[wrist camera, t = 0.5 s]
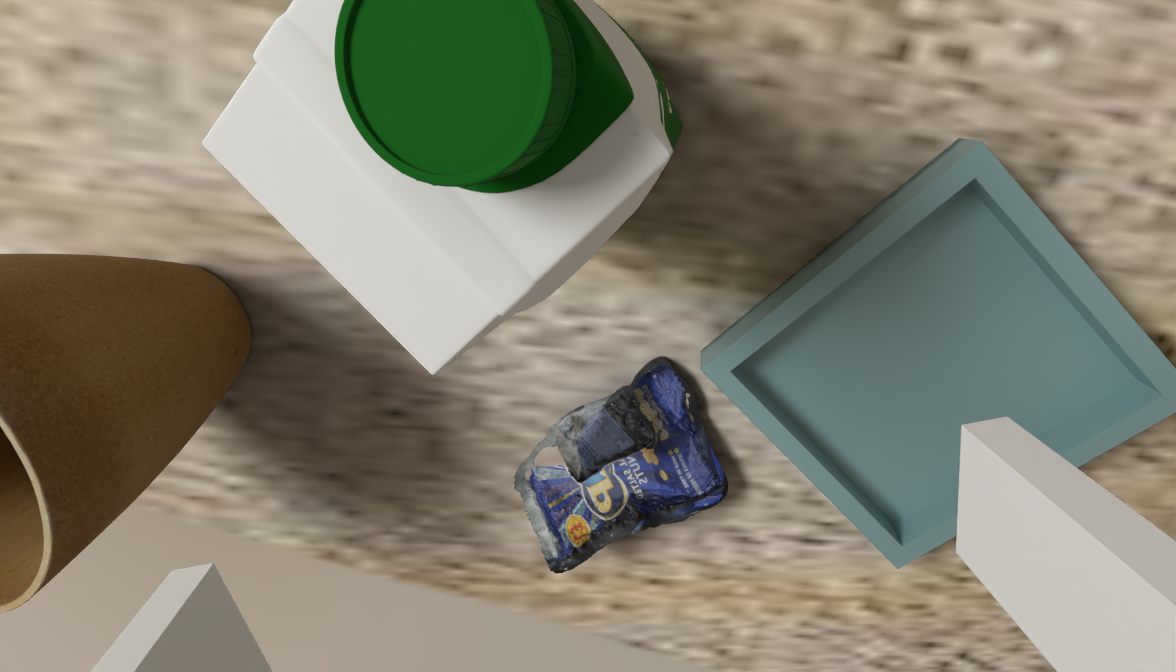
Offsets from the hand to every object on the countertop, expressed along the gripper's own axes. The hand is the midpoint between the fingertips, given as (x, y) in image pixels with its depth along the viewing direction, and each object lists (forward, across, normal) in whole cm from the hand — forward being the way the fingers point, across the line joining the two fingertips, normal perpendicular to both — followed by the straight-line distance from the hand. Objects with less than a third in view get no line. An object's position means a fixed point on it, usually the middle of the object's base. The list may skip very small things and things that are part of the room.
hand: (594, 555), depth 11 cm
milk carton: (+23, +2, +6) cm, 24 cm away
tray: (+19, +16, -8) cm, 26 cm away
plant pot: (+28, -24, -1) cm, 36 cm away
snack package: (+22, 0, -12) cm, 25 cm away
